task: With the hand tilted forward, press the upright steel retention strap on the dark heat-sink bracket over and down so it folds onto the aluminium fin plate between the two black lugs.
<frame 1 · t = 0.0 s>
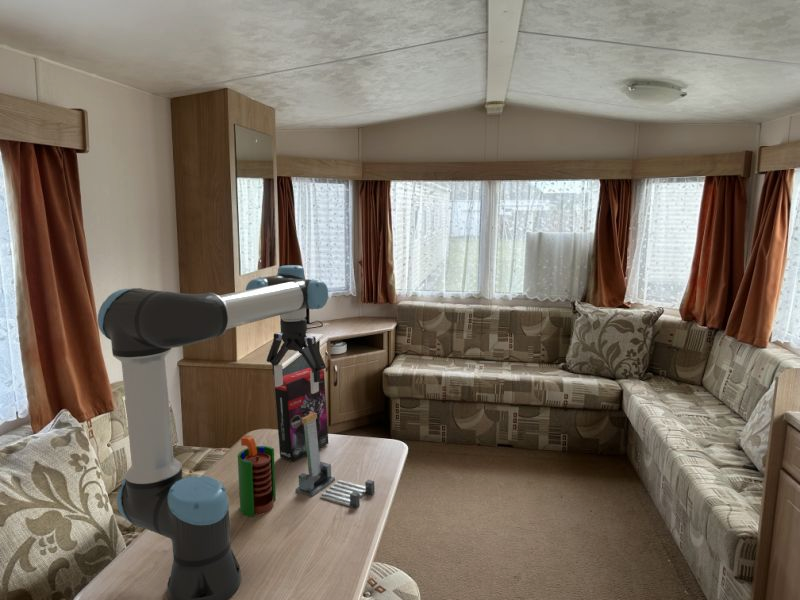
hand: (296, 389, 167), 28 cm above the table, tool pointing down, fingers open, 13 cm apart
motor: (257, 507, 155), on the table
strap: (312, 448, 165), point 11 cm above the table, hinge at -4.0°
graphics card box: (303, 451, 190), on the table
bracket: (315, 485, 166), on the table
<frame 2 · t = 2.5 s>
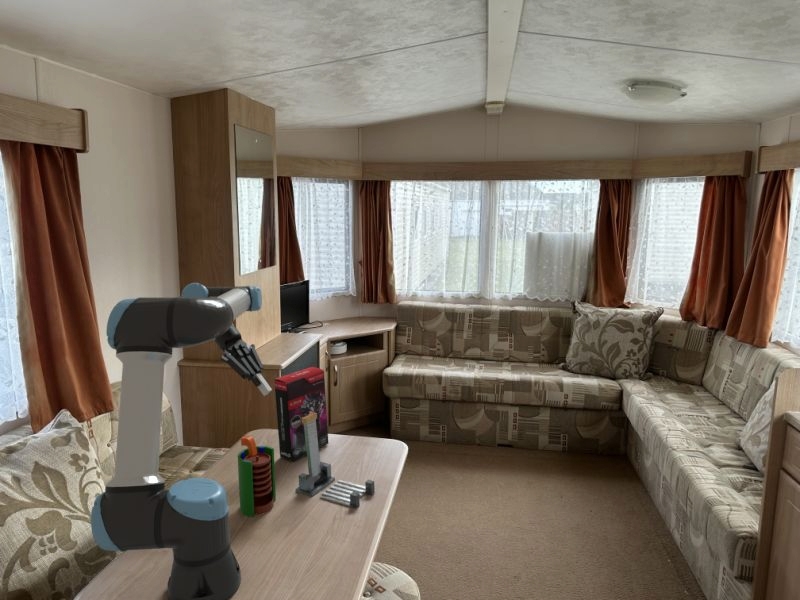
hand: (268, 392, 170), 26 cm above the table, tool tilted 45°, fingers closed
nothing on the table moved.
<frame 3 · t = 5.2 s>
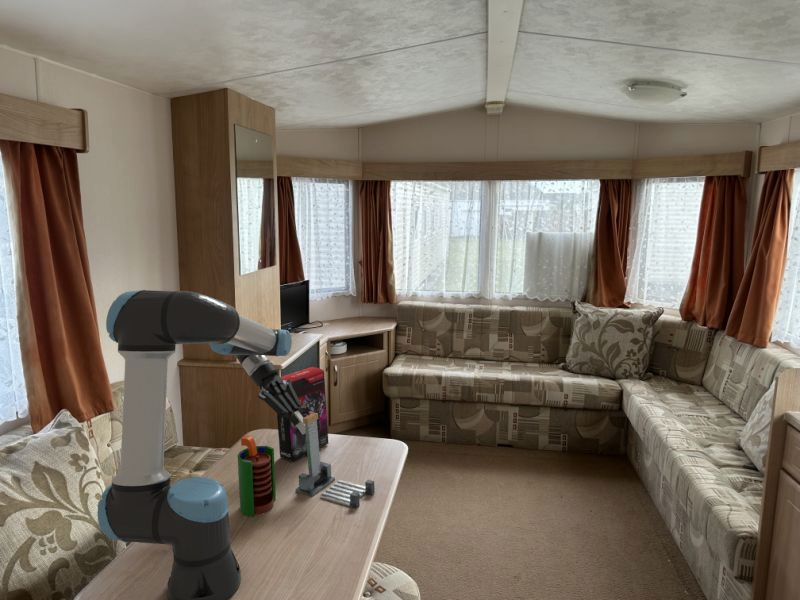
hand: (306, 431, 165), 16 cm above the table, tool tilted 45°, fingers closed
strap: (313, 448, 164), point 11 cm above the table, hinge at -2.6°, touching gripper
everything else where it was.
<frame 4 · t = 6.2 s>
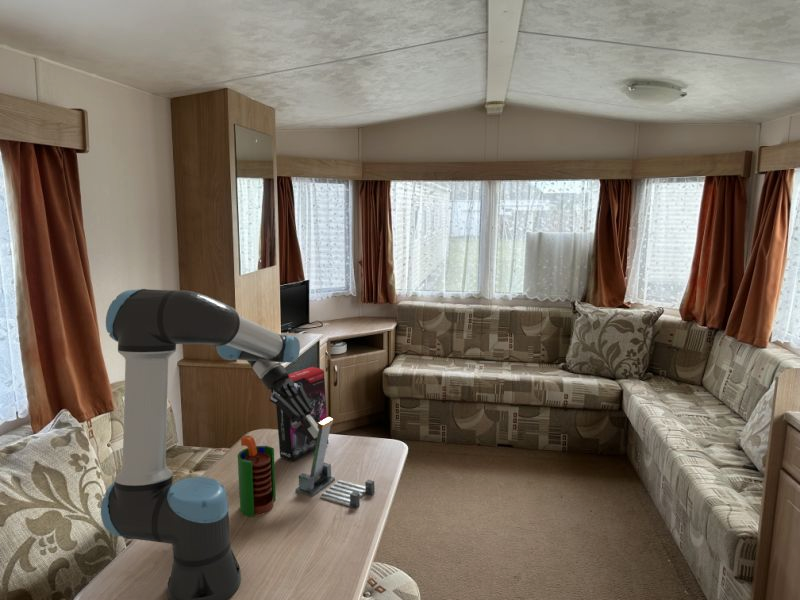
hand: (318, 435, 163), 16 cm above the table, tool tilted 45°, fingers closed
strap: (320, 451, 163), point 11 cm above the table, hinge at 14.1°, touching gripper
everything else where it was.
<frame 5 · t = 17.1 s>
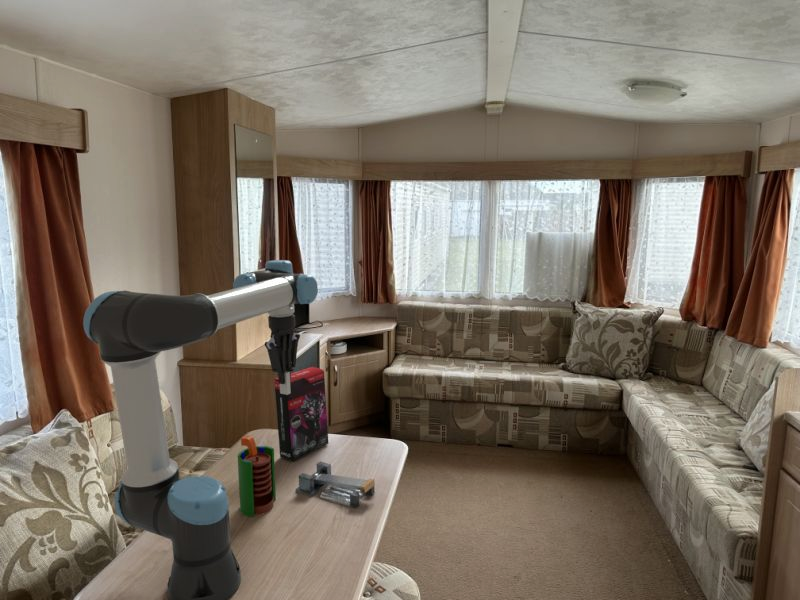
hand: (285, 393, 165), 27 cm above the table, tool pointing down, fingers closed
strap: (340, 481, 161), point 3 cm above the table, hinge at 83.7°
everything else where it was.
at the end: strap at +84° (first picture: -4°) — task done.
